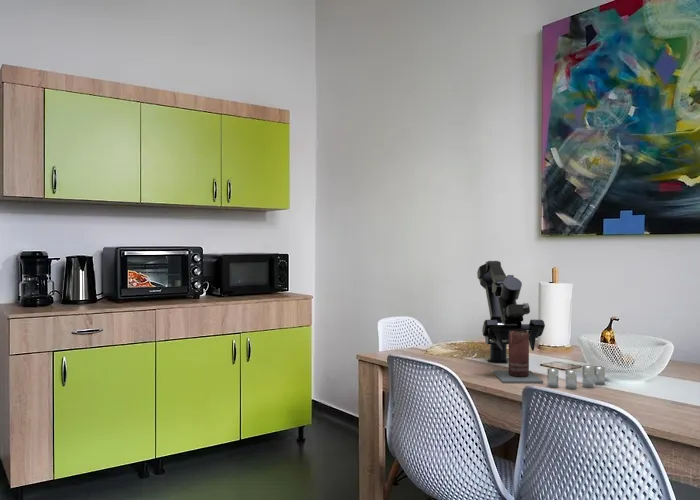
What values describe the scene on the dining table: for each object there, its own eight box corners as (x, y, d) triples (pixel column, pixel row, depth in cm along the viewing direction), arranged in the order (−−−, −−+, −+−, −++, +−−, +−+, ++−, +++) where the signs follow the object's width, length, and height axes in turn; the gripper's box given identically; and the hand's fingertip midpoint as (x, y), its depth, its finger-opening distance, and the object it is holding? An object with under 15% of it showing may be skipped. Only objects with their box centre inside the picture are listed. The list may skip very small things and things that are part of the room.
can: (504, 375, 180) (504, 330, 180) (516, 372, 184) (516, 328, 184) (520, 378, 175) (520, 332, 175) (532, 375, 179) (532, 330, 179)
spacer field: (545, 385, 169) (545, 365, 169) (598, 378, 177) (598, 359, 177) (564, 391, 162) (564, 370, 162) (618, 384, 170) (618, 363, 170)
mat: (493, 372, 186) (493, 370, 186) (530, 372, 186) (530, 370, 186) (502, 383, 172) (502, 381, 172) (543, 383, 172) (543, 381, 172)
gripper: (484, 294, 183) (491, 334, 172) (543, 294, 183) (554, 334, 172) (479, 316, 191) (486, 355, 180) (535, 315, 191) (546, 355, 180)
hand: (518, 350), depth 178 cm, fingers open, 9 cm apart
